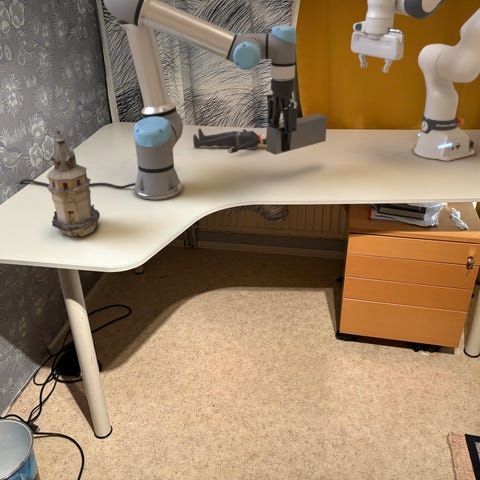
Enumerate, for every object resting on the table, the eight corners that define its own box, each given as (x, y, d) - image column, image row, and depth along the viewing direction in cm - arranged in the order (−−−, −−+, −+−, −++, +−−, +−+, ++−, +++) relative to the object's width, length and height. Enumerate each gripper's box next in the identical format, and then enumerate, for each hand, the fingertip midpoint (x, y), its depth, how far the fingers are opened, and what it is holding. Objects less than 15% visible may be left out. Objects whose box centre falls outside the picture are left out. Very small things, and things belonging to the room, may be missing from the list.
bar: (275, 154, 177) (275, 129, 173) (266, 150, 181) (266, 125, 176) (325, 141, 189) (327, 116, 184) (316, 137, 192) (317, 113, 188)
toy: (204, 122, 226) (274, 122, 220) (205, 136, 229) (274, 137, 223) (186, 142, 204) (264, 143, 198) (188, 157, 207) (264, 159, 201)
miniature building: (80, 214, 164) (63, 117, 149) (111, 225, 157) (96, 125, 142) (44, 231, 154) (22, 130, 140) (75, 244, 147) (55, 139, 133)
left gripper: (310, 81, 165) (306, 153, 176) (274, 72, 178) (273, 139, 189) (291, 85, 161) (289, 158, 173) (256, 75, 174) (256, 143, 185)
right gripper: (410, 29, 170) (404, 74, 176) (362, 22, 184) (358, 64, 191) (397, 31, 166) (391, 76, 173) (349, 24, 181) (346, 66, 188)
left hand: (280, 148), depth 181 cm, fingers closed on bar, 5 cm apart
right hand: (374, 70), depth 182 cm, fingers open, 8 cm apart
